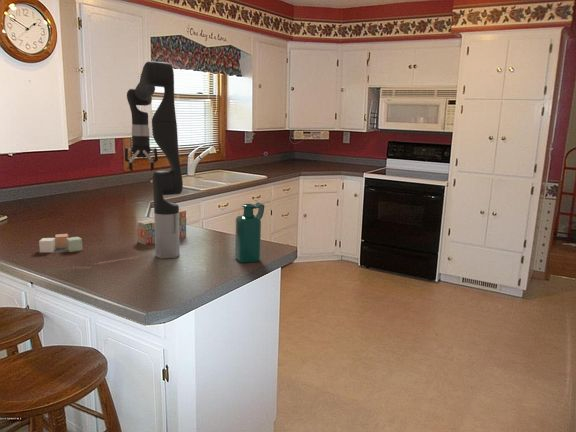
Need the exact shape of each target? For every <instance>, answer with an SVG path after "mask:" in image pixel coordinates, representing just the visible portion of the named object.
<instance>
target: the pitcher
mask: <svg viewBox="0 0 576 432" xmlns="http://www.w3.org/2000/svg"><path fill="white" fill-rule="evenodd" d="M241 208H243V214H241V215H238V216H236V218H235V238H234V239H235V244H234V245H235V248H234V249H235V253H234V255H235V256H234V257H235V259H236V260H237V261H238V262H239V263H241V264H247V263H256V262H257V263H258V262H260V260H261V241H262V239H261V236H262V218H263V217H264V212H265V204H263V203H262V202H256V203H255V204H254V203H243V204H241ZM255 209H258V210H257V214H256V215H255V214H254V210H255Z"/></svg>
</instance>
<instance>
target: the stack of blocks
mask: <svg viewBox="0 0 576 432" xmlns="http://www.w3.org/2000/svg"><path fill="white" fill-rule="evenodd" d="M136 223H137V224H136V236H137V242H138V243H139V244H142V245H145V246H146V245H152V244H155V224H154V218H152V219H145V220H139V221H138V220H137V222H136ZM186 237H187V210H184V209H180V208H179V239H181V238H182V239H183V238H186Z"/></svg>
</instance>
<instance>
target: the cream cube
mask: <svg viewBox="0 0 576 432" xmlns="http://www.w3.org/2000/svg"><path fill="white" fill-rule="evenodd" d="M38 243H39V244H38V245H39V251H40V252H53V251H54V250H55V249H56V238H55V237H43V238H41V239H40V240H39V241H38Z"/></svg>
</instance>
